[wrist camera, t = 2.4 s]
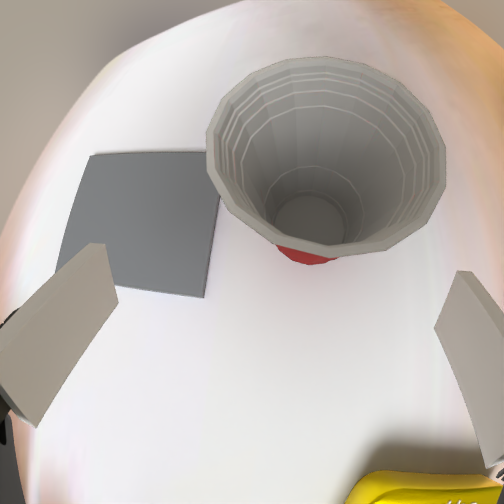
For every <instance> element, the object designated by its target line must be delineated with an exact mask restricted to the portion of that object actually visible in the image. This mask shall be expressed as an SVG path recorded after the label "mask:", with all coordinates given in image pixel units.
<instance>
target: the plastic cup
mask: <svg viewBox="0 0 504 504" xmlns="http://www.w3.org/2000/svg"><path fill="white" fill-rule="evenodd" d="M206 162H207V173H208V174H209V176H210V178H211V180H212V182H213V184H214V185H215V187H216V189H217V191H218V193H219V194H220V196H221V198H222V200H223V202H224V204H225V205H226V207H227V209H228V211H229V212H230V213H232V214H233V215H235V216H236V217H237V218H239V219H240V220H241V221H243V222H244V223H245V224H247V225H248V226H249V227H251V228H252V229H254V230H255V231H256V232H258V233H259V234H260V235H262V236H263V237H264V238H266V239H267V240H268V241H270V242H271V243H272V244H276V246H277V247H278V249H279V251H281V252H282V253H283V254H285V255H286V256H287V257H288V258H290V259H291V260H292V261H296V262H300V263H303V264H307V265H313V264H322V263H326V262H328V261H330V260H335V259H337V258H339V257H343V256H351V255H358V254H365V253H372V252H380V251H386V250H388V249H389V248H391V247H392V246H394V245H395V244H397V243H398V242H400V241H401V240H403V239H404V238H406V237H408V236H409V235H411V234H412V233H414V232H415V231H417V230H418V229H420V228H421V227H422V226H424V225H425V224H427V222H428V220H429V218H430V216H431V215H432V213H433V211H434V209H435V207H436V205H437V203H438V201H439V199H440V197H441V195H442V194H443V192H444V190H445V188H446V147H445V144H444V142H443V140H442V138H441V135H440V133H439V131H438V129H437V127H436V124H435V122H434V120H433V118H432V116H431V114H430V112H429V111H428V110H427V108H426V107H425V106H424V105H423V104H422V103H421V102H420V101H419V100H418V99H417V98H416V97H415V96H414V95H413V94H412V93H411V92H410V91H409V90H408V89H407V88H406V87H405V86H404V85H402V84H401V83H400V82H398V81H396V80H395V79H393V78H391V77H389V76H387V75H385V74H383V73H381V72H380V71H378V70H376V69H374V68H372V67H370V66H368V65H365V64H362V63H357V62H353V61H348V60H343V59H337V58H332V57H326V56H323V57H309V58H297V59H287V60H284V61H281V62H278V63H276V64H273V65H271V66H268V67H266V68H263V69H261V70H258V71H256V72H254V73H251V74H249V75H248V76H247V77H246V78H245V79H244V80H242V81H241V82H240V83H239V84H238V85H237V86H236V87H234V88H233V89H232V90H231V91H230V92H229V93H228V94H226V95H225V96H224V97H223V98H222V100H221V102H220V104H219V106H218V108H217V110H216V112H215V114H214V116H213V118H212V120H211V122H210V124H209V126H208V129H207V131H206Z"/></svg>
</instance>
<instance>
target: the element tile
mask: <svg viewBox="0 0 504 504" xmlns="http://www.w3.org/2000/svg"><path fill="white" fill-rule="evenodd" d="M502 488H503V485H501V484H499V483H497V482H495V481H493V480H491V479H489V478H488V477H486V476H484V475H481V474H425V473H411V472H400V471H391V470H380V471H376V472H372V473H370V474H368V475H366V476H364V477H363V478H362V479H361V480H360V481H359V482H358V483H356V485H355V486H354V488H353V489H352V491H351V492H350V494H349V496H348V498H347V500H346V501H345V503H344V504H496V503H497V501H498V498H499V496H500V493H501V491H502Z"/></svg>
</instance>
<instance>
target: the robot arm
mask: <svg viewBox="0 0 504 504" xmlns="http://www.w3.org/2000/svg"><path fill="white" fill-rule="evenodd" d="M118 303H119V302H118V298H117V294H116V290H115V286H114V282H113V278H112V274H111V269H110V265H109V260H108V255H107V251H106V246H105V244H99V243H89V244H88V245H86V246H85V247H84V248H83V249H82V250H81V251H80V252H78V253H77V254H76V255H75V256H74V257H73V258H72V259H70V260H69V261H68V262H67V263H66V264H65V265H64V266H63V267H62V268H61V269H59V270H58V271H57V272H56V273H55V274H54V275H53V276H52V277H51V278H50V279H49V280H48V281H47V282H46V283H45V284H44V285H42V286H41V287H40V288H39V289H38V290H37V291H36V292H35V293H34V294H33V295H32V296H31V297H30V298H29V299H28V300H27V301H26V302H25V303H24V304H23V305H22V306H21V307H20V308H18V309H17V310H15V311H13V312H12V313H11V314H10V315H9V316H8V317H7V319H6V320H5V321H4V324H3V323H2V324H1V325H0V504H26V503H25V499H24V495H23V491H22V486H21V482H20V477H19V472H18V466H17V460H16V453H15V446H14V438H13V429H12V421H11V417H10V416H9V415H8V412H9V411H10V409H12V411H13V412H14V413H15V414H16V415H17V417H18V418H19V419H20V420H22V421H23V422H25V423H27V424H29V425H30V426H32V427H34V428H37V426H38V425H39V423H40V421H41V419H42V418H43V416H44V414H45V413H46V411H47V409H48V408H49V406H50V404H51V403H52V401H53V400H54V398H55V396H56V395H57V393H58V391H59V390H60V388H61V387H62V385H63V384H64V382H65V380H66V379H67V377H68V376H69V374H70V373H71V371H72V370H73V368H74V367H75V365H76V364H77V362H78V361H79V359H80V358H81V356H82V355H83V353H84V352H85V350H86V349H87V347H88V346H89V344H90V343H91V341H92V340H93V338H94V337H95V336H96V334H97V333H98V331H99V330H100V328H101V327H102V326H103V324H104V323H105V321H106V320H107V319H108V317H109V316H110V314H111V313H112V312H113V310H114V309H115V308H116V306H117V305H118ZM434 330H435V332H436V334H437V336H438V338H439V340H440V342H441V345H442V347H443V349H444V351H445V354H446V356H447V358H448V360H449V363H450V365H451V368H452V370H453V372H454V375H455V377H456V380H457V382H458V385H459V387H460V390H461V392H462V395H463V398H464V400H465V403H466V406H467V409H468V412H469V414H470V417H471V420H472V423H473V426H474V429H475V432H476V436H477V439H478V442H479V445H480V449H481V452H482V456H483V459H484V463H485V467H486V468H489V467H492V466H495V465H497V464H500V463H503V462H504V313H503V312H502V310H501V309H500V308H499V306H498V305H497V304H496V302H495V301H494V300H493V298H492V297H491V296H490V294H489V293H488V292H487V290H486V289H485V288H484V286H483V285H482V284H481V283H480V281H479V280H478V279H477V278H476V276H475V275H474V274H473V273H472V272H469V271H457V272H456V275H455V277H454V280H453V283H452V285H451V288H450V291H449V293H448V296H447V298H446V301H445V303H444V306H443V308H442V311H441V313H440V315H439V318H438V320H437V322H436V324H435V327H434ZM503 474H504V468H503V469H502V470H501V471H500V472H499V473H498V474H497V476H496V478H499V477H501V476H502V475H503ZM501 480H503V481H504V477H503V478H502V479H501ZM496 504H504V485H503V488H502V491H501V493H500V496H499V498H498V501H497V503H496Z"/></svg>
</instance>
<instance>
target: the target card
mask: <svg viewBox="0 0 504 504" xmlns="http://www.w3.org/2000/svg"><path fill="white" fill-rule="evenodd" d="M219 199H220V194H219V193H218V191H217V189H216V187H215V185H214V184H213V182H212V180H211V178H210V176H209V174H208V173H207V162H206V153H204V152H160V153H127V154H108V155H93V156H90V158H89V160H88V163H87V165H86V168H85V171H84V174H83V176H82V179H81V182H80V185H79V188H78V191H77V194H76V197H75V200H74V203H73V206H72V209H71V212H70V216H69V219H68V223H67V226H66V230H65V233H64V237H63V241H62V245H61V249H60V253H59V257H58V261H57V266H56V270H55V273H56V272H57V271H58V270H59V269H61V268H62V267H63V266H64V265H65V264H66V263H67V262H68V261H69V260H70V259H72V258H73V257H74V256H75V255H76V254H77V253H78V252H80V251H81V250H82V249H83V248H84V247H85V246H86V245H88V244H89V243H99V244H105V246H106V251H107V255H108V260H109V265H110V269H111V274H112V278H113V282H114V285H116V286H122V287H128V288H135V289H141V290H147V291H154V292H161V293H168V294H175V295H182V296H190V297H197V298H204V293H205V286H206V279H207V272H208V266H209V259H210V253H211V247H212V241H213V234H214V228H215V222H216V217H217V211H218V205H219Z"/></svg>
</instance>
